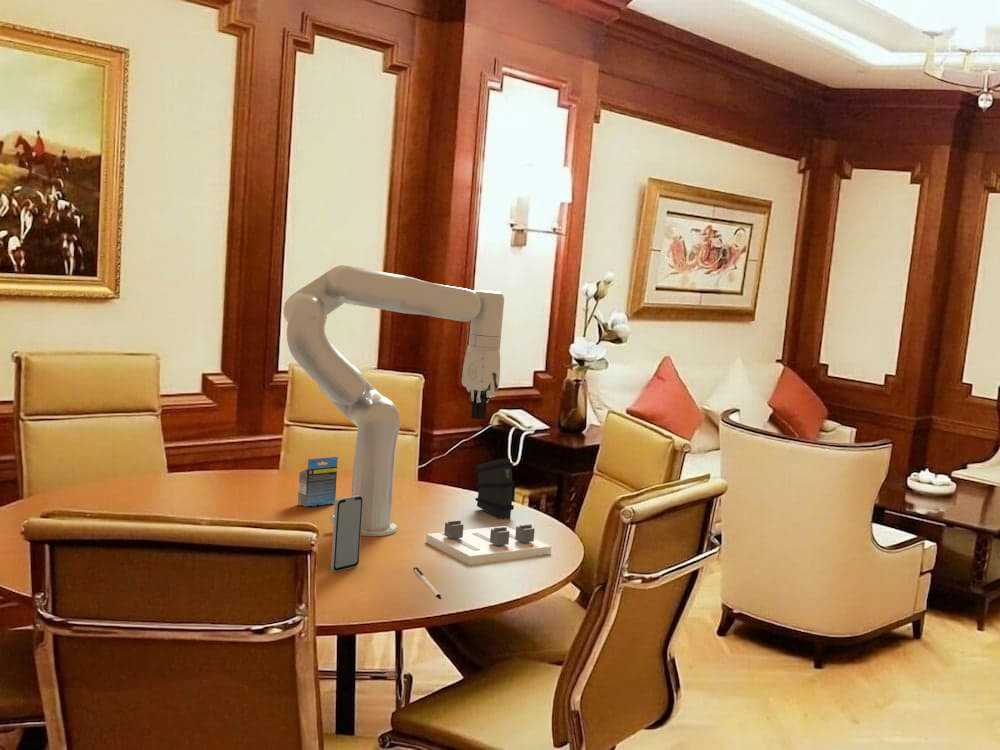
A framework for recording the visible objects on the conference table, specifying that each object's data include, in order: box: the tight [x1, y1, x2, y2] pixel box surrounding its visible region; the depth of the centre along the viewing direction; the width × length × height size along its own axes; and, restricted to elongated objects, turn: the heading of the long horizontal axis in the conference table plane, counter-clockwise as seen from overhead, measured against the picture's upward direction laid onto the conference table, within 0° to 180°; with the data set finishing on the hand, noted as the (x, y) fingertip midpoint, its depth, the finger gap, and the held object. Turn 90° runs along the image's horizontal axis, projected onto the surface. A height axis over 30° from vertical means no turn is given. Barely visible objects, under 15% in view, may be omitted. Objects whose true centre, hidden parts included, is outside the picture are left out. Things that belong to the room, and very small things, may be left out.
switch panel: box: [425, 525, 552, 566], centre depth 231 cm, size 22×18×2 cm
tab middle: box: [490, 526, 510, 546], centre depth 227 cm, size 3×3×4 cm
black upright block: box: [474, 457, 516, 520], centre depth 262 cm, size 4×13×15 cm, turn 38°
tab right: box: [515, 523, 536, 543], centre depth 231 cm, size 3×3×4 cm
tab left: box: [443, 519, 464, 539], centre depth 230 cm, size 3×3×4 cm
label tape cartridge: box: [297, 456, 339, 508], centre depth 258 cm, size 9×4×12 cm, turn 132°
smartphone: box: [330, 495, 363, 573], centre depth 207 cm, size 7×1×15 cm, turn 142°
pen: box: [413, 567, 442, 600], centre depth 203 cm, size 1×19×1 cm, turn 20°
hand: (478, 418), depth 245 cm, fingers closed
